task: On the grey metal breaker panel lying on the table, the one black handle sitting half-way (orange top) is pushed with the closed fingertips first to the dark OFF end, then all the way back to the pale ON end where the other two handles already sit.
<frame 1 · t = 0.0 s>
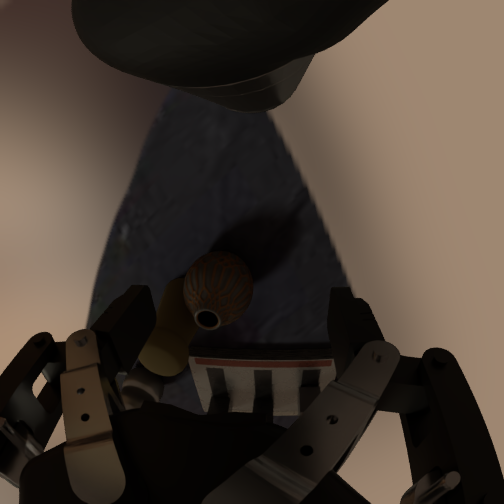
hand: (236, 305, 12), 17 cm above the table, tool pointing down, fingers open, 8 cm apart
plastic bottle: (149, 374, 41), on the table
tripped breaker handle: (309, 406, 34), point 5 cm above the table, slide at 0.0 cm
vase: (224, 269, 31), on the table
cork: (187, 298, 33), on the table
breaker panel: (264, 381, 39), on the table
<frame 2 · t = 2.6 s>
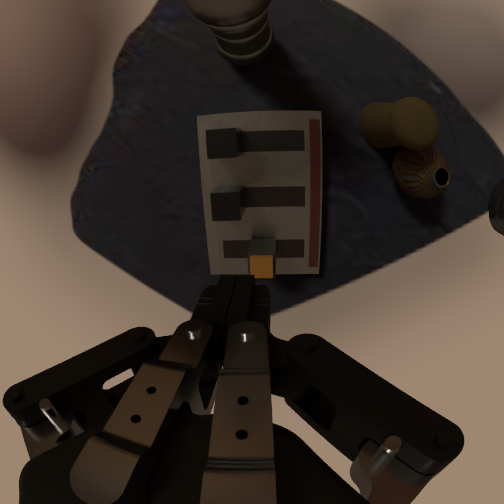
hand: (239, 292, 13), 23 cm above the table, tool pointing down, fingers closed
plastic bottle: (247, 46, 27), on the table
tripped breaker handle: (262, 258, 32), point 5 cm above the table, slide at 0.0 cm
vase: (407, 166, 31), on the table
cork: (380, 125, 29), on the table
breaker panel: (262, 193, 34), on the table
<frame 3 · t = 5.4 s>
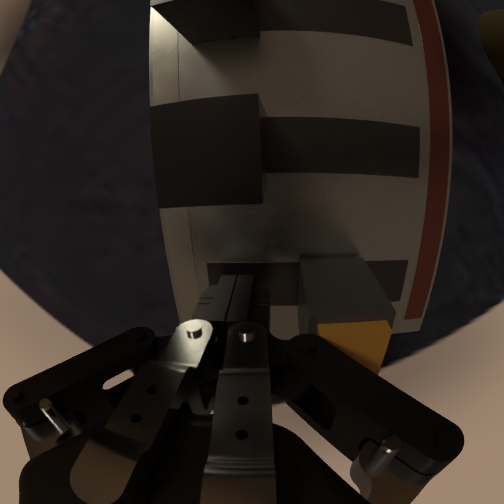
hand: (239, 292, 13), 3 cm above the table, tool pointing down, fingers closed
tripped breaker handle: (339, 317, 11), point 5 cm above the table, slide at -0.9 cm, touching gripper
breaker panel: (308, 144, 13), on the table
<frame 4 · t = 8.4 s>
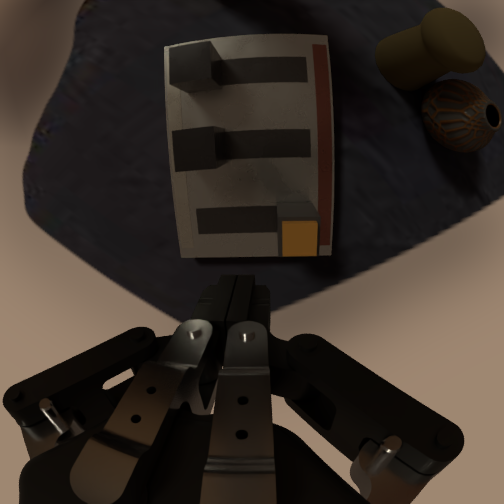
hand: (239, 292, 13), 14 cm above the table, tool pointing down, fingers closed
tripped breaker handle: (296, 228, 21), point 5 cm above the table, slide at -3.5 cm
vase: (437, 116, 21), on the table
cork: (401, 63, 19), on the table
breaker panel: (251, 143, 24), on the table
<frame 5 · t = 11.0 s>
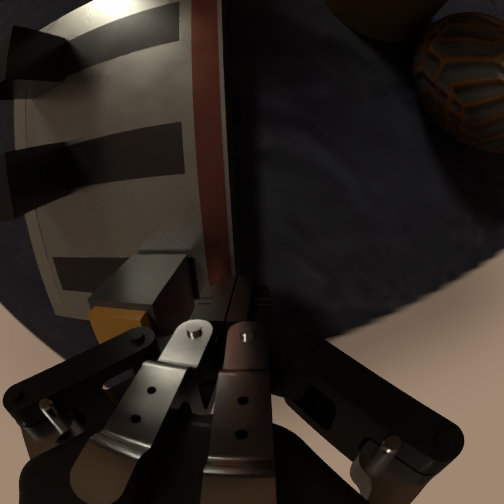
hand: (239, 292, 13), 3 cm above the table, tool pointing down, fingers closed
tripped breaker handle: (145, 307, 12), point 5 cm above the table, slide at -3.3 cm, touching gripper
vase: (444, 88, 11), on the table
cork: (373, 0, 9), on the table
breaker panel: (113, 157, 14), on the table
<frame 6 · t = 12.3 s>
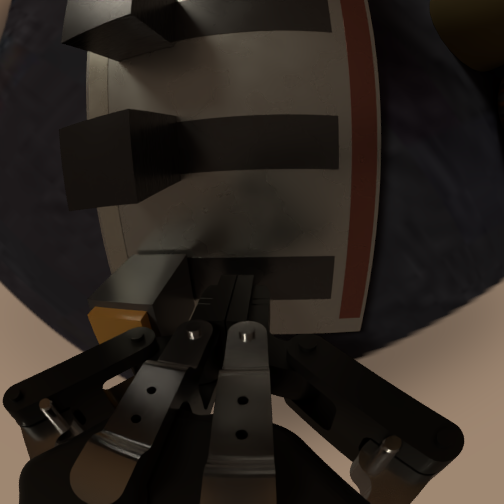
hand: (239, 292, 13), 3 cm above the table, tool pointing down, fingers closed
tripped breaker handle: (145, 307, 12), point 5 cm above the table, slide at 3.6 cm, touching gripper
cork: (465, 30, 9), on the table
breaker panel: (229, 143, 13), on the table
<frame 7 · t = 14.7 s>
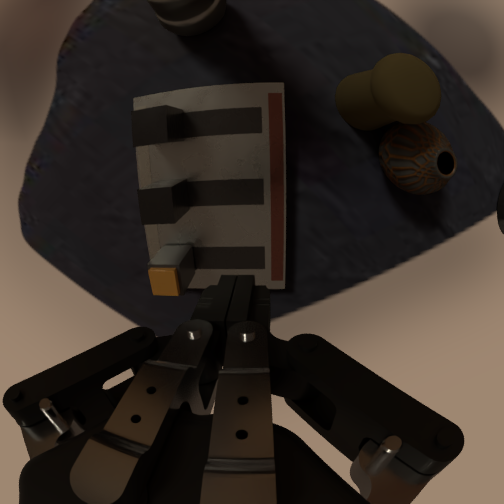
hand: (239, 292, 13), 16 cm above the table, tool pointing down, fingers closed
plastic bottle: (198, 16, 20), on the table
tripped breaker handle: (171, 270, 25), point 5 cm above the table, slide at 3.5 cm
vase: (399, 153, 24), on the table
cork: (363, 101, 23), on the table
breaker panel: (213, 189, 27), on the table
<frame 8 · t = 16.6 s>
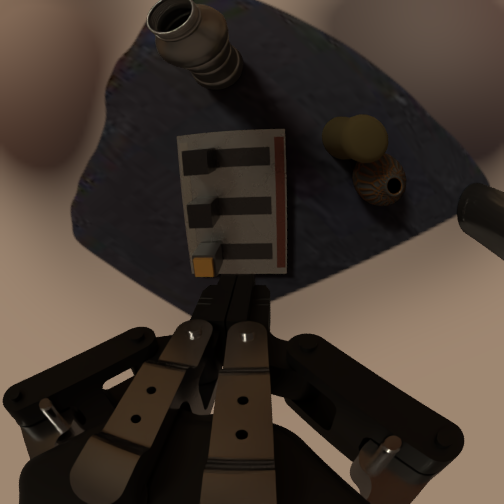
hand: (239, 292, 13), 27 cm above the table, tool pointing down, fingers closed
plastic bottle: (221, 70, 32), on the table
tripped breaker handle: (207, 260, 37), point 5 cm above the table, slide at 3.5 cm
vase: (370, 174, 36), on the table
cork: (343, 138, 34), on the table
breaker panel: (235, 202, 39), on the table
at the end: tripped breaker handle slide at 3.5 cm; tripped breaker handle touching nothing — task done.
